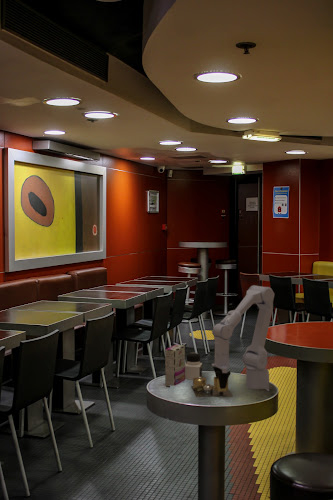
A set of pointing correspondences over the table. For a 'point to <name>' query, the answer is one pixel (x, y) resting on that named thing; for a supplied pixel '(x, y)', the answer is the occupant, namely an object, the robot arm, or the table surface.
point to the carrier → (206, 389)
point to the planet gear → (217, 386)
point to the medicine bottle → (193, 366)
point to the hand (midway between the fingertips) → (221, 386)
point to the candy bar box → (174, 365)
